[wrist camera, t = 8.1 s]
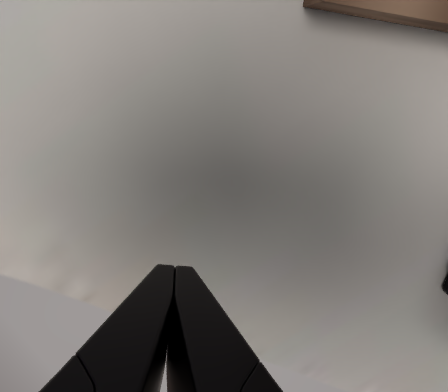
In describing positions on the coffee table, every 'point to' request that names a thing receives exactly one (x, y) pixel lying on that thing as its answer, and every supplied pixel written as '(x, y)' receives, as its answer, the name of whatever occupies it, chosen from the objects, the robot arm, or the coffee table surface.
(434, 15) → the walnut bay
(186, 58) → the coffee table surface
